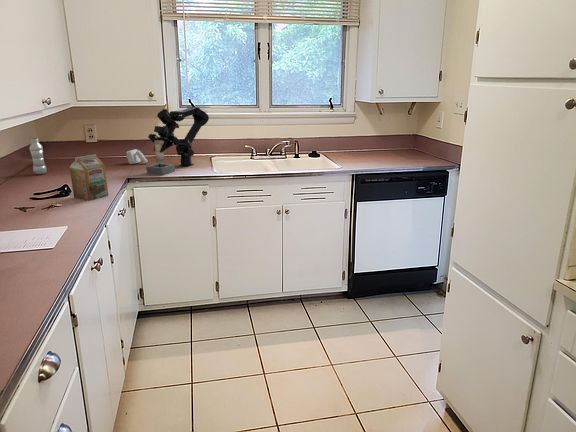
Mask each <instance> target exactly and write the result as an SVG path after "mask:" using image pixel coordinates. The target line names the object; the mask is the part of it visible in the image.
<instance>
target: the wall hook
mask: <svg viewBox="0 0 576 432" xmlns="http://www.w3.org/2000/svg"><path fill="white" fill-rule="evenodd" d="M125 154H126V157H127V160H128V164H129V165H135V164H137V163H141V162H142V163H143V165H146V164H147V163H148V162H149V160H148V159H147V158H146V157H145V155H144V154H143V153H142V151H140V150H139V149H135V148H134V149H132V150H131V149H130V150H128V151H126V153H125Z"/></svg>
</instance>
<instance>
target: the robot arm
mask: <svg viewBox="0 0 576 432" xmlns="http://www.w3.org/2000/svg"><path fill="white" fill-rule="evenodd" d="M189 116H192V118H193V124H192V126H191V127H190V129H189V130H188V132H187V133H186V135H185V136H184V139H182V138H181V139H179V138H178V137H177V136H176V135H175V133H174V132H175V130H176V129H180V126H179V123H178V122H182V121H184V119H185V118H186V117H189ZM156 117H157V118H158V119H159V120H160V122H161V123H162V124H163V126H158V125H155V126H154V129H153V132H154V133H149V135H148V136H147V138H148V139H149V140H150V141H151V142H152V143H153V144H154V141H155V140H162V142H163V146H162V148H161V150H160V152H163V153H164V151H166V150H167V149H170V147H173V146H175V151H176V154H177V155H178V156H180V164H178V165H179V166H182V167H191V166H194V163H192V157H193V156H194V155H195V152H194V150H193V149H192V148H193V147H192V143H193V141H194V140H195V138H196V137H197V135H198V133H199V131H200V130H201V128H202V127H203V126H204V125H206V124H208V122H209V120H210V117H209V114H208V113H206V111H203V110H202V109H201V108H200V107H199V106H190V107H188V108H185V109H181V110H171V111H170V112H169V111H168V109H167V108H163V109H162V110H161V111H159V112H158V113H157V114H156ZM156 133H157V134H156ZM153 152H154V153H155V144H154V145H153Z"/></svg>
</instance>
